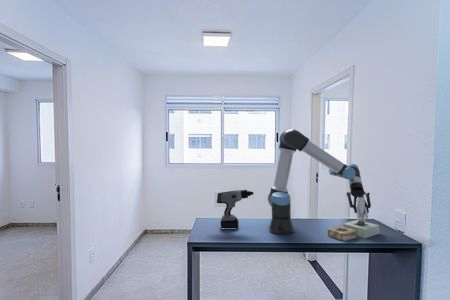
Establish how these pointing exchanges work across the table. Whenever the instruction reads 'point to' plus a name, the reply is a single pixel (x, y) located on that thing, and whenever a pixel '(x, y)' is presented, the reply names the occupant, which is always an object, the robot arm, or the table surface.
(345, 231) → the maple sleeve
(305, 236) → the table surface
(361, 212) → the cylinder
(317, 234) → the table surface
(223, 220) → the cordless drill
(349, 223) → the sage rack
